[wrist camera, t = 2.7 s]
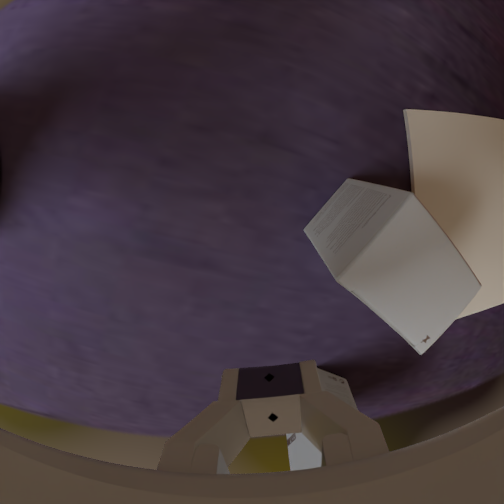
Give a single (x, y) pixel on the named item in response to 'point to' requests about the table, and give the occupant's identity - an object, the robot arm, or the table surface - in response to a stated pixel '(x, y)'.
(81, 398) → the table surface
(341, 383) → the skincare box
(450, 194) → the felt mat
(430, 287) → the small box
